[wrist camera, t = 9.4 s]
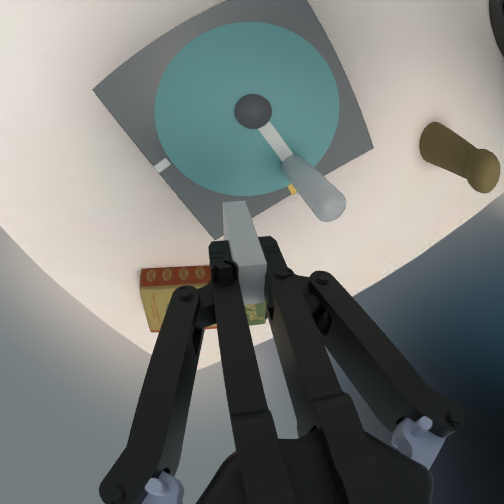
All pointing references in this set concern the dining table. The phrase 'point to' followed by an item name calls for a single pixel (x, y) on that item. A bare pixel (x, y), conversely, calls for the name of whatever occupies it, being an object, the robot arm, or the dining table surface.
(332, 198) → the dial
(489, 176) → the cork
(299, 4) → the base plate
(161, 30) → the dining table surface
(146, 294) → the carton
